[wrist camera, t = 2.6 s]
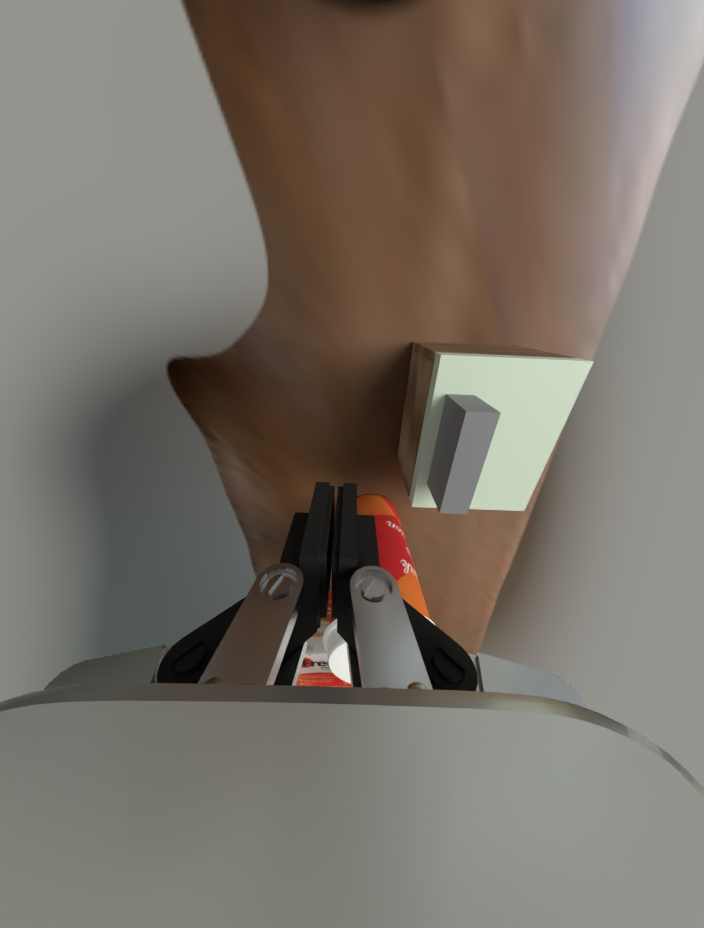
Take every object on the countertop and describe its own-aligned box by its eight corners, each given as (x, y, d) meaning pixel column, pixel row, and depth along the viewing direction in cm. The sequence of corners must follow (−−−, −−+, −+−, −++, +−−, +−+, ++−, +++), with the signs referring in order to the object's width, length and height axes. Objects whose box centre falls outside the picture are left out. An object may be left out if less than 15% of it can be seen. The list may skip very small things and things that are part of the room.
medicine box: (411, 585, 35) (425, 653, 28) (408, 620, 39) (420, 688, 32) (296, 588, 35) (282, 656, 28) (305, 623, 39) (295, 690, 32)
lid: (435, 352, 15) (461, 364, 11) (579, 358, 15) (649, 372, 11) (409, 498, 19) (421, 538, 16) (516, 502, 20) (551, 542, 16)
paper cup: (397, 543, 31) (426, 695, 18) (331, 536, 30) (316, 688, 18) (414, 488, 27) (465, 635, 15) (339, 479, 26) (326, 623, 14)
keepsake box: (413, 341, 20) (434, 351, 15) (518, 346, 20) (575, 357, 15) (397, 457, 25) (408, 495, 20) (481, 460, 25) (514, 499, 20)
